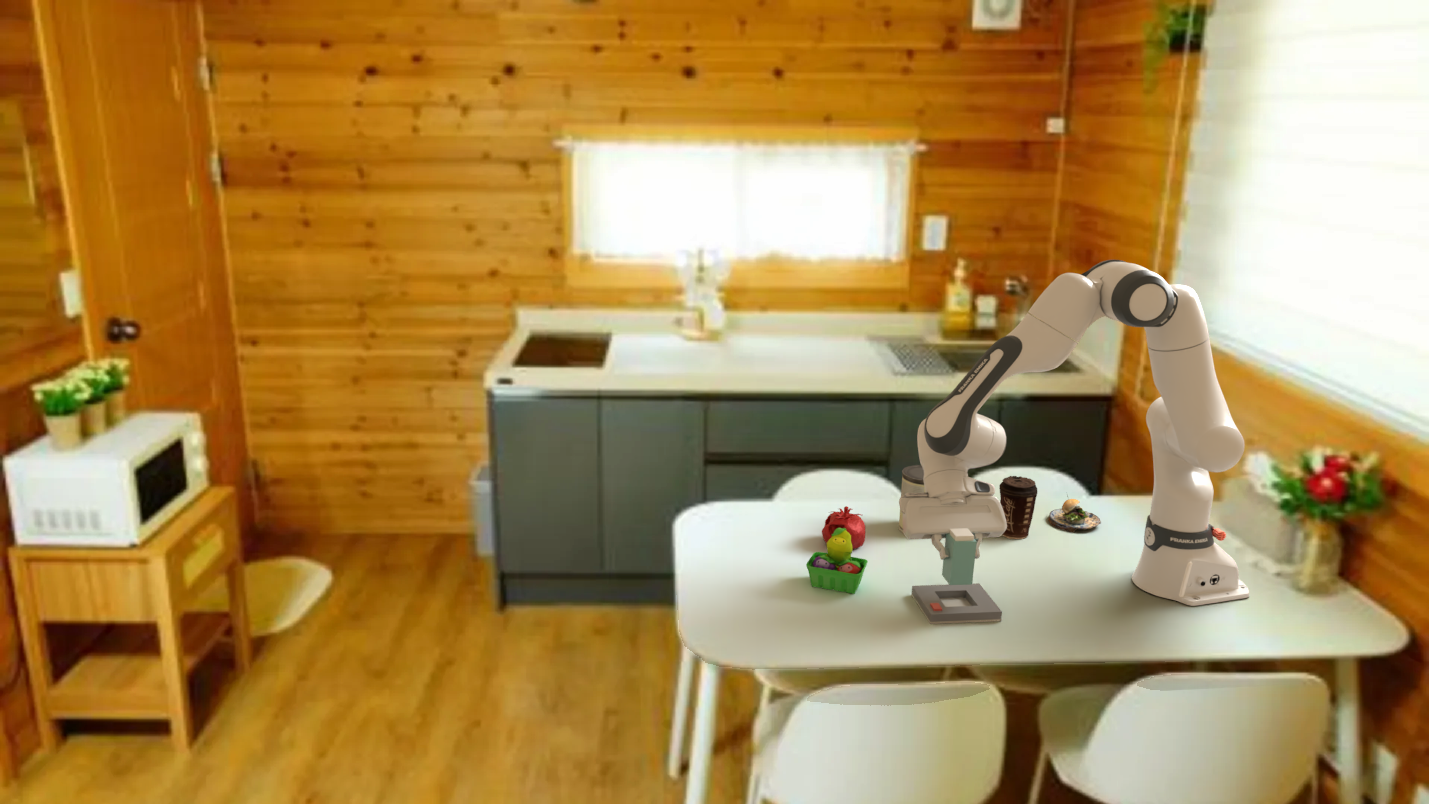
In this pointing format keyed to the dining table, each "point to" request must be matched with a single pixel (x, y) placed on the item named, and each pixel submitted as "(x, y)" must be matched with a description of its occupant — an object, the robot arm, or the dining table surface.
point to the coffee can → (911, 484)
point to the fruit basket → (837, 565)
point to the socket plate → (956, 603)
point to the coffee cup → (1018, 505)
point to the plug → (959, 557)
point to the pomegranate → (845, 526)
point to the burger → (1072, 517)
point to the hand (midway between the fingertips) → (960, 558)
